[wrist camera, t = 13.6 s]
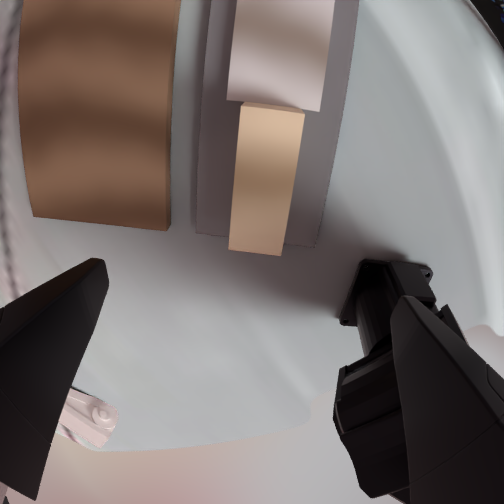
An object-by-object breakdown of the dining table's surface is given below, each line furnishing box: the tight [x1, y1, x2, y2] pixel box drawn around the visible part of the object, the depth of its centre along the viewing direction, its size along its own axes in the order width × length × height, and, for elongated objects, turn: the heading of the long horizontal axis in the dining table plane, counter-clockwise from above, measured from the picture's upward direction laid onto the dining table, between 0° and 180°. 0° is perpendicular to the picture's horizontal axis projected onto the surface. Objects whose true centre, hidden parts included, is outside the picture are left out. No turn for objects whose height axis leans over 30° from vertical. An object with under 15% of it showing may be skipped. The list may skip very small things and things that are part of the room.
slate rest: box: [196, 0, 359, 248], centre depth 17 cm, size 17×8×1 cm, turn 174°
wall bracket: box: [58, 388, 118, 448], centre depth 37 cm, size 10×7×28 cm
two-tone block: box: [227, 0, 335, 256], centre depth 15 cm, size 15×5×3 cm, turn 174°
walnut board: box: [18, 0, 181, 231], centre depth 14 cm, size 27×12×1 cm, turn 174°
